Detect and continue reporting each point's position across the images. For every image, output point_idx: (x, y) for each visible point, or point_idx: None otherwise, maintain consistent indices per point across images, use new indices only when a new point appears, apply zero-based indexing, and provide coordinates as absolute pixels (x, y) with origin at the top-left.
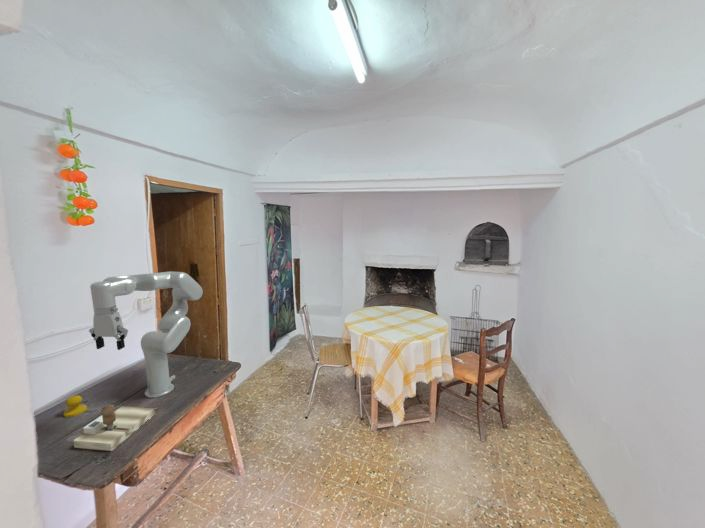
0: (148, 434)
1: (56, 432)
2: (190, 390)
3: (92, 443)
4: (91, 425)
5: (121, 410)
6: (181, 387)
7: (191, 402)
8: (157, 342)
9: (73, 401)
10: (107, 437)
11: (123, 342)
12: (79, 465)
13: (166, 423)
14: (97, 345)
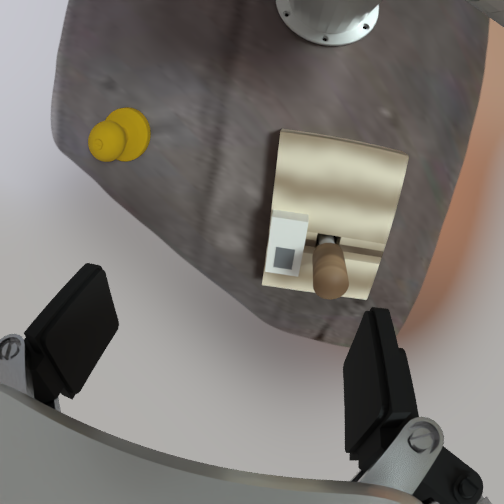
0: (422, 240)
1: (164, 219)
2: (441, 19)
3: None
4: (281, 264)
5: (298, 157)
6: None
7: (478, 99)
8: None
9: (114, 155)
10: None
11: (408, 392)
12: (321, 318)
13: (450, 199)
14: (98, 354)
